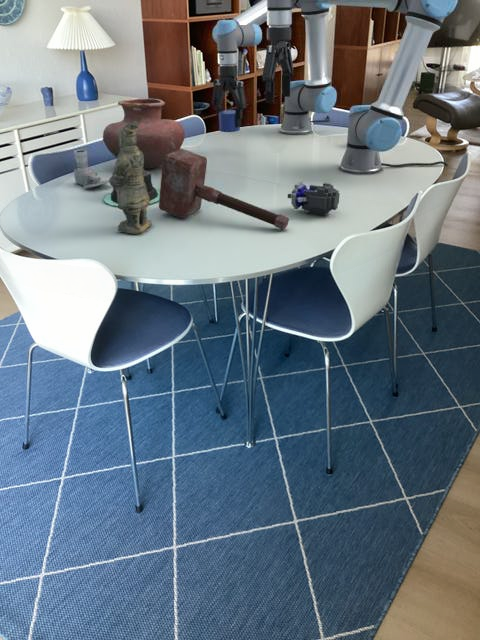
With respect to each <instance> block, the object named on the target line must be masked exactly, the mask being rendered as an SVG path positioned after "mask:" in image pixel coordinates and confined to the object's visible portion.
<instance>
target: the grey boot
mask: <svg viewBox="0 0 480 640" xmlns="http://www.w3.org/2000/svg"><path fill="white" fill-rule="evenodd" d="M73 152H74V158H75V160H76V166H77V168H74V170H73V171H74V174H73V175H74V179H75V180H74V181H75V183H76V184H78V185H81V186H83V187H82V188H83V189H88V188H95V187H98V186H103V185H106V184H110V183H109V179H107V180H102V177H101V176H99V175H98V171H96V170H93V169H90V168H89V163H88V158H89V157H88V151H87V149H84V148H83V149H82V148H80V149H75V150H74V151H73Z"/></svg>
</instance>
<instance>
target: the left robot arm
mask: <svg viewBox="0 0 480 640" xmlns="http://www.w3.org/2000/svg"><path fill="white" fill-rule="evenodd" d="M330 7H332V5H329V4H292V10H296V9H300V14H301V17H303V19H304V20H305V22H304V23H305V44H306V64H307V79H302V80H301V79H300V80H294V81H290V97H284V116H283V119H282V122H281V125H280V133H282V134H284V135H293V136H294V135H295V136H298V135H299V136H300V135H308V134H310V133H312V132H313V126H312V123H324V122H329V121H330V116H329V115H326V119H322V120H320V119H318V120H316V119H315V120H311V119H310V112H311V113H316V114H327V113H330V112H331V111H332V110H333V108H334V106H335V105H336V102H337V99H338V98H337V97H338V95H337V94H338V93H337V90H336V88H335V87H333V86H332V80H331V78H330V77H329V76H328V57H327V56H328V54H327V53H328V52H327V24H326V23H327V21H326V20H327V18H326V17H327V15H328V14H329V12H330ZM267 11H269V10H267V0H260V1H258V2H257V3H256V4H254V5H252V6H251V7H249V8H247V9H245V10H244V11H243V12H241V13H240V14H238V15H236V16H235V17H233V18H231V19H221V20H218V21H217V23H216V25H215V26H214V27H213V29H212V39H213V41H214V42H215V43H216V44H217V45H216V46H217V64H218V67H217V68H218V69H217V73H218V76H219V77H218V78H219V79H213V80H212V85H213V89H212V98H211V99H212V100H211V106H213V107H215V109H216V110H215V111H216V112H215V113H216V116H217V125H218V126H220V125H219V112H220V111H224V106H223V102H224V99H225V96H226V93H227V92H229V93H230V94H231V96H232V99H233V102H234V104H235V107H236V109H234V110H235V112H236V127H240V128H241V127H242V119H243V110H244V109H247V107H248V106H247V100H246V93H245V81H240V80H239V79H238V75H239V73H238V72H239V71H238V65H237V64H238V48H240V47H253V46H258V45H259V44H260V43H261V42H262V40H263V32H262V31H263V30H262V28H261V27H260V26H261V25H262V24H264V23H265V22H267V17H266V14H267Z"/></svg>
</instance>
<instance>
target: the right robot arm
mask: <svg viewBox="0 0 480 640" xmlns="http://www.w3.org/2000/svg"><path fill="white" fill-rule="evenodd" d="M458 2H459V0H267V10H269V11H267V14H266V17H267V21H266V25H267V26H268V27H267V28H266V41H268V42H271V44H270V45H266V52H265V58H264V65H263V70H262V75H261V80H262V81H263V82H264V84H265V85H264V87H265V88H264V89H265V90H264V92H265V95H264V96H265V98H264V99H265V101H264V102H265V104H275V80H274V78H275V76H276V75H275V74H276V71H277V68H278V64H280V68H281V71H282V73H283V74H282V75H281V97H282V98H283V97H284V98H285V97H290V82H291V79H292V78H291V77H292V76H294V74H295V73H294V71H295V70H294V64H293V57H292V50H291V48H292V47H291V42H289V41H291V39H292V28H291V25H292V23H293V22H292V21H293V20H292V19H293V17H292V16H293V11H292V10H293V9H292V4H329V5H331V6H347V7H349V6H350V7H366V8H381V9H382V8H383V9H384V8H385V9H386V10H387V11H388V12H389V13H390V12H393V13H400V14H405V17H404V19H405V21H406V27H405V29H404V32H403V35H402V37H401V40H400V42H399V45H398V48H397V50H396V53H395V55H394V58H393V60H392V63H391V65H390V68H389V71H388V73H387V76H386V78H385V81H384V83H383V86H382V88H381V91H380V94H379V96H378V99H377V100H376V101H375V102H373V103H371V104H362V105H352V106H351V107H350V108H349V113H348V126H347V138H346V139H347V140H346V149H345V151H344V154H343V156H342V158H341V162H340V170H341V171H343V172H345V173H349V174H355V175H356V174H357V175H369V174H370V175H371V174H376V173H378V172H380V171H382V166H383V167H389V168H402V167H410V166H412V167H413V166H415V167H417V166H421V167H422V166H423V167H427V166H436V165H437V166H438V165H444V166H445V167H449V164H448V163H447V162H445V161H443V160H440V161H435V162H408V163H399V164H392V163H391V164H390V163H385V162H382V161H381V155H380V153H383V152H387V151H390V150H391V149H393V148H395V147H396V146H397V145H398V143H399V142H400V140H401V138H402V133H403V129H402V125H401V124H402V121H403V118H404V116H405V114H404V111H403V107H404V105H405V102H406V100H407V97H408V94H409V92H410V90H411V88H412V85H413V82H414V80H415V78H416V75H417V72H418V70H419V69H420V65H421V63H422V60H423V58H424V56H425V53H426V51H427V48H428V46H429V43H430V41H431V38H432V36H433V34H434V33H435V32H436V31H439V30H440V29H441V27H442V25H443V22H444V20H445V18H446V17H448V16H449V15H451V13H452V12H454V10H455V8H456V7H457V4H458Z"/></svg>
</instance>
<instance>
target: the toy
mask: <svg viewBox="0 0 480 640" xmlns="http://www.w3.org/2000/svg"><path fill="white" fill-rule="evenodd" d="M293 187H294V188H293V189H292V191H291V193H288V194H287V199H291V200H290V201H291V202H290V203H291V206H292V207H293V210H298V209H299V208H301V210H303V211H306V212H307V214H310V215H311V214H312V215H318V216H326V215H328V213H330V212H331V211H336V210H337V209H338V205H339V204H340V194H341V193H340V190H338V189H337V188H335V187H334V184H332V183H328V182H324V183H322V185H315V184H310V185H309V186H308V187H309V188H308V187H307V185H306V184H305V183H304V181H301V180H299V181H298V182H296V183H295V184H294V186H293Z"/></svg>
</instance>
